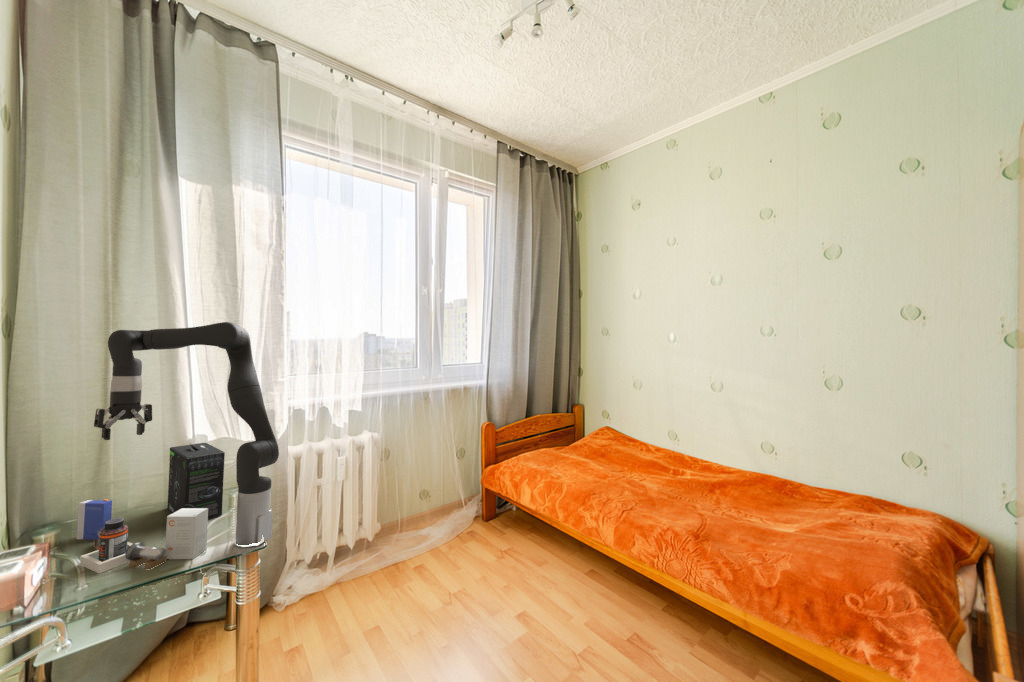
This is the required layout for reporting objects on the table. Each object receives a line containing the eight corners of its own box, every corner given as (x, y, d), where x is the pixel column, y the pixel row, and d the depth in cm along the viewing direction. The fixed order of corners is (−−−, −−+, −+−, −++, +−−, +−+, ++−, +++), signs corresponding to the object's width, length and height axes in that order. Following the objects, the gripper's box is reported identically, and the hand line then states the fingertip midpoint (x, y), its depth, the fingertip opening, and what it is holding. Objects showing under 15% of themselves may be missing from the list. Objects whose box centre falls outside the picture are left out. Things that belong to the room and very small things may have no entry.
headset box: (165, 508, 152) (169, 441, 152) (203, 499, 161) (207, 436, 162) (182, 526, 138) (186, 453, 138) (223, 516, 148) (226, 447, 148)
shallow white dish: (143, 556, 119) (143, 548, 119) (98, 573, 110) (99, 564, 110) (124, 548, 123) (125, 540, 123) (80, 564, 113) (80, 555, 113)
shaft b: (92, 545, 124) (93, 526, 124) (113, 539, 127) (114, 521, 127) (97, 555, 118) (98, 535, 118) (118, 549, 122) (119, 530, 122)
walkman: (110, 535, 130) (112, 499, 130) (102, 539, 127) (104, 502, 127) (85, 535, 130) (87, 498, 130) (76, 539, 127) (78, 502, 127)
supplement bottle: (94, 560, 115) (96, 521, 115) (121, 551, 120) (123, 514, 120) (103, 566, 112) (105, 526, 112) (130, 556, 117) (132, 518, 118)
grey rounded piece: (167, 562, 116) (168, 542, 117) (151, 570, 112) (152, 550, 112) (141, 558, 117) (142, 539, 118) (124, 567, 113) (125, 547, 113)
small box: (206, 549, 125) (209, 507, 125) (192, 559, 118) (195, 516, 118) (179, 549, 124) (181, 507, 124) (163, 560, 117) (166, 516, 118)
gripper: (145, 386, 141) (143, 432, 140) (91, 390, 127) (88, 440, 127) (158, 388, 138) (155, 434, 138) (104, 391, 125) (101, 443, 124)
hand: (123, 437), depth 132 cm, fingers open, 8 cm apart
